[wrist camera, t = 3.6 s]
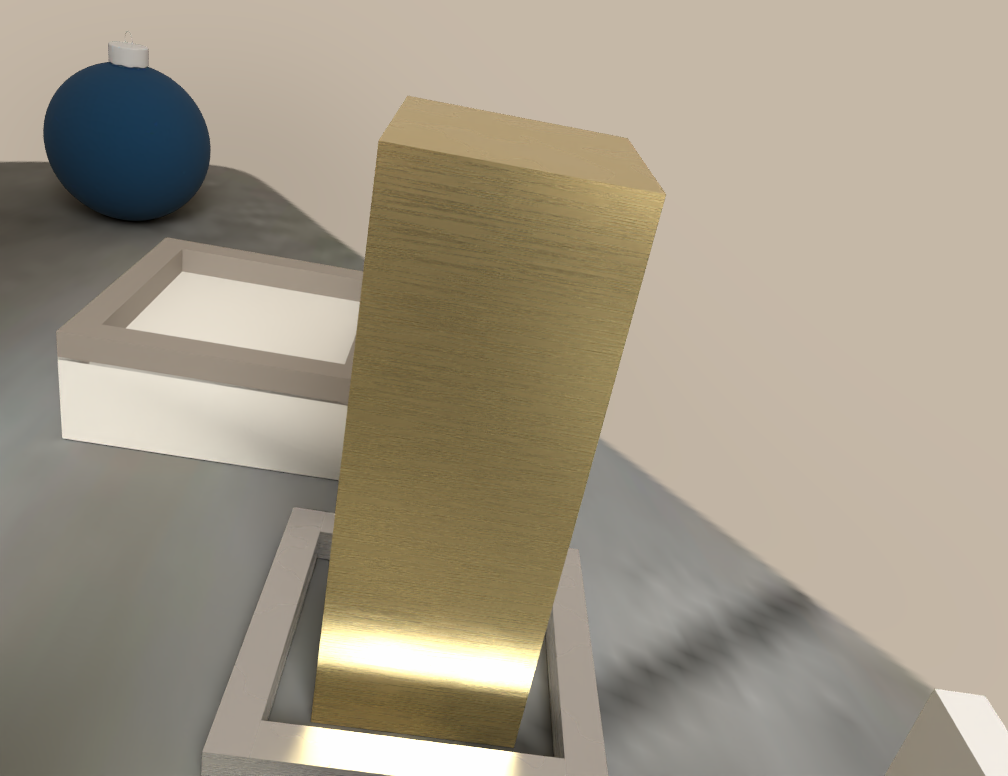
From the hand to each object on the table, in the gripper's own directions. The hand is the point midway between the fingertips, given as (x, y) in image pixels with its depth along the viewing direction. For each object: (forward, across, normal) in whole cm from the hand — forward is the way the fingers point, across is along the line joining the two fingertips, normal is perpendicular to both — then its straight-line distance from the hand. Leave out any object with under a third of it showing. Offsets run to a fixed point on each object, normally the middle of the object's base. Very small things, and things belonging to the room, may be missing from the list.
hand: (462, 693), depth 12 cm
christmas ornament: (+39, -20, -8) cm, 45 cm away
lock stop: (+8, 0, -8) cm, 12 cm away
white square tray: (+21, -8, -8) cm, 24 cm away
